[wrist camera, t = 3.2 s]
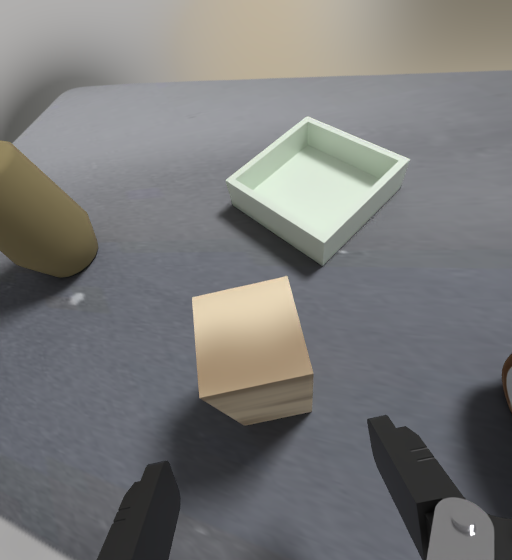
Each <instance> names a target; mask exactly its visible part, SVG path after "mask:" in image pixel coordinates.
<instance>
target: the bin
mask: <svg viewBox="0 0 512 560" xmlns="http://www.w3.org/2000/svg"><path fill="white" fill-rule="evenodd" d="M409 161H410V159H408V158H405V157H403V156H401V155H398V154H396V153H394V152H391V151H389V150H386V149H384V148H382V147H379V146H377V145H374V144H372V143H370V142H367V141H365V140H363V139H360V138H358V137H355V136H353V135H351V134H348V133H346V132H343V131H341V130H339V129H336V128H334V127H332V126H329V125H327V124H324V123H322V122H320V121H317V120H315V119H312V118H310V117H308V116H307V117H305V118H304V119H303V120H302V121H300V122H299V123H298V124H297V125H295V126H294V127H293V128H291V129H290V130H289V131H288V132H286V133H285V134H284V135H283V136H281V137H280V138H279V139H277V140H276V141H275V142H274V143H272V144H271V145H270V146H269V147H267V148H266V149H265V150H263V151H262V152H261V153H260V154H258V155H257V156H256V157H255V158H253V159H252V160H251V161H249V162H248V163H247V164H246V165H244V166H243V167H242V168H240V169H239V170H238V171H237V172H235V173H234V174H233V175H232V176H230V177H229V178H228V179H226V180H225V181H226V184H227V188H228V191H229V194H230V198H231V201H232V205H233V206H235V207H236V208H238V209H239V210H240V211H242V212H243V213H245V214H246V215H248V216H249V217H251V218H252V219H254V220H255V221H257V222H258V223H260V224H261V225H263V226H264V227H266V228H267V229H268V230H270V231H271V232H273V233H274V234H276V235H277V236H279V237H280V238H282V239H283V240H285V241H286V242H288V243H289V244H291V245H292V246H294V247H295V248H296V249H298V250H299V251H301V252H302V253H304V254H305V255H307V256H308V257H310V258H311V259H313V260H314V261H316V262H317V263H319V264H320V265H322V266H323V265H324V264H325V263H326V262H327V261H328V260H329V259H330V258H331V257H332V256H333V255H334V254H335V253H336V252H337V251H338V250H339V249H340V248H341V247H342V246H343V245H344V244H345V243H346V242H347V241H348V240H349V239H350V238H351V237H352V236H353V235H354V234H355V233H356V232H357V231H358V230H359V229H360V228H361V227H362V226H363V225H364V224H365V223H366V222H367V221H368V220H369V219H370V218H371V217H372V216H373V215H374V214H375V213H376V212H377V211H378V210H379V209H380V208H381V207H382V206H383V205H384V204H385V203H386V202H387V201H388V200H389V199H390V198H391V197H392V196H393V195H394V194H395V193H396V192H397V191H398V190H399V189H400V188H401V185H402V182H403V179H404V176H405V173H406V170H407V167H408V164H409Z"/></svg>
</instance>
